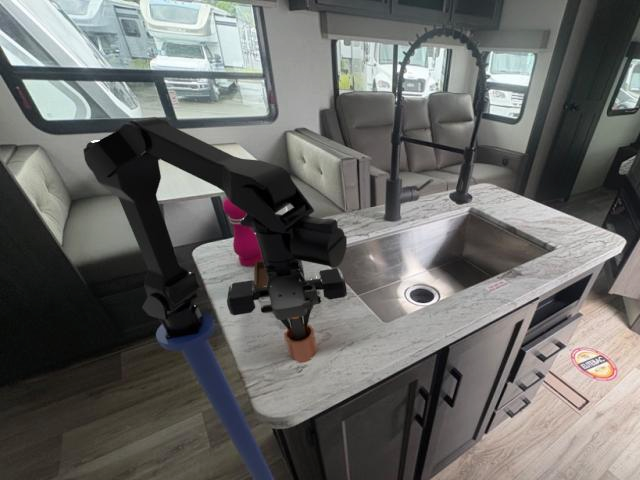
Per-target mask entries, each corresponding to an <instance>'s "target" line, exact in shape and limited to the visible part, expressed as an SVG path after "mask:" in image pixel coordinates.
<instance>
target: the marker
mask: <svg viewBox="0 0 640 480" xmlns="http://www.w3.org/2000/svg"><path fill="white" fill-rule="evenodd" d="M289 321H290V326H291V327H292V331H293V336H294V340H295V341H301V340H304V339H306V334H305V329H304V324H303V323H304V320H303V316H302V317H293V318H289Z"/></svg>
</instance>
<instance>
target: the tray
mask: <svg viewBox="0 0 640 480" xmlns="http://www.w3.org/2000/svg"><path fill="white" fill-rule="evenodd" d="M253 267H254V270H253V280H254V281H255V284H256V288H260V287H264V286H267V280H268V277H267V274H266V270H265V266H264V262H263V261H255V266H253Z"/></svg>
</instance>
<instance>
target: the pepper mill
mask: <svg viewBox="0 0 640 480" xmlns="http://www.w3.org/2000/svg"><path fill="white" fill-rule="evenodd" d="M222 210H223V211H224V213H225V214H226V215H227V216H228V220H229V223H230V224H232V227H233V231H234V232H233V233H234V235H233V242H232V247H233V251H234V253H235V254H236V255H238V260H239V263H240V265H241V266H244V267H255V261H263V259H262V255H261V251H260V248H259V244H258V240H257V237H256V233H255V231H254V230H253V228H252V227H247V226H242V225H241V224H240V221H241V220H242V219H243V218H244V217H245V216H246V215H247V213H246V212H244V211H243V210H241V209H240V208H238V207H236V206H235V205H233V204H232V203H231V202H230V201H229V199H228V197H226V198H224V200H223V201H222Z"/></svg>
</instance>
